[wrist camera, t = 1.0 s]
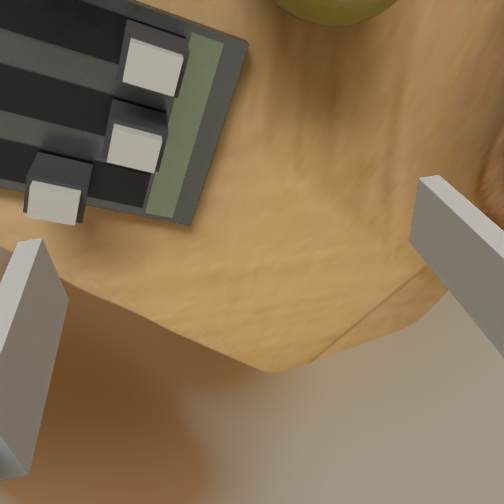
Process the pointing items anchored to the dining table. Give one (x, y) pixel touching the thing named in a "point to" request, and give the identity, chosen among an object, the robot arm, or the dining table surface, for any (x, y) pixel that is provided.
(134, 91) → the panel
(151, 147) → the breaker mid row
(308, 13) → the fruit
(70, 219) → the block
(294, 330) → the dining table surface
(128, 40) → the breaker far row
